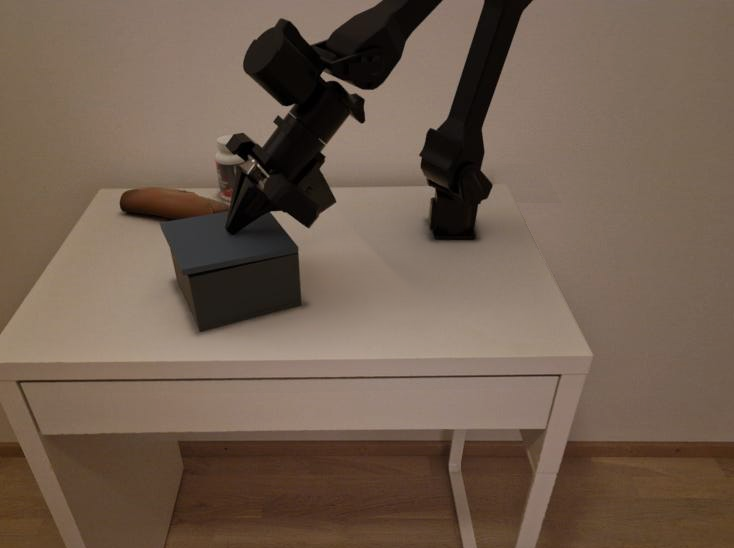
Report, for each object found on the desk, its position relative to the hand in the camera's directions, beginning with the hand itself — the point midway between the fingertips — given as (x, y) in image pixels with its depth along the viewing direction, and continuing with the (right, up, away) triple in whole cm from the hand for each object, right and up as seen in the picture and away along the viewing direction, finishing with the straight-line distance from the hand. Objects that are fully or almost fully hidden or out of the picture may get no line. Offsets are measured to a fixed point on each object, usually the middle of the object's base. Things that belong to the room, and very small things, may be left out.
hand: (228, 232), depth 74 cm
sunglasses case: (-12, +8, +24) cm, 28 cm away
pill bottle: (-4, +13, +29) cm, 32 cm away
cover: (0, -1, +1) cm, 1 cm away
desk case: (0, -7, +6) cm, 9 cm away
